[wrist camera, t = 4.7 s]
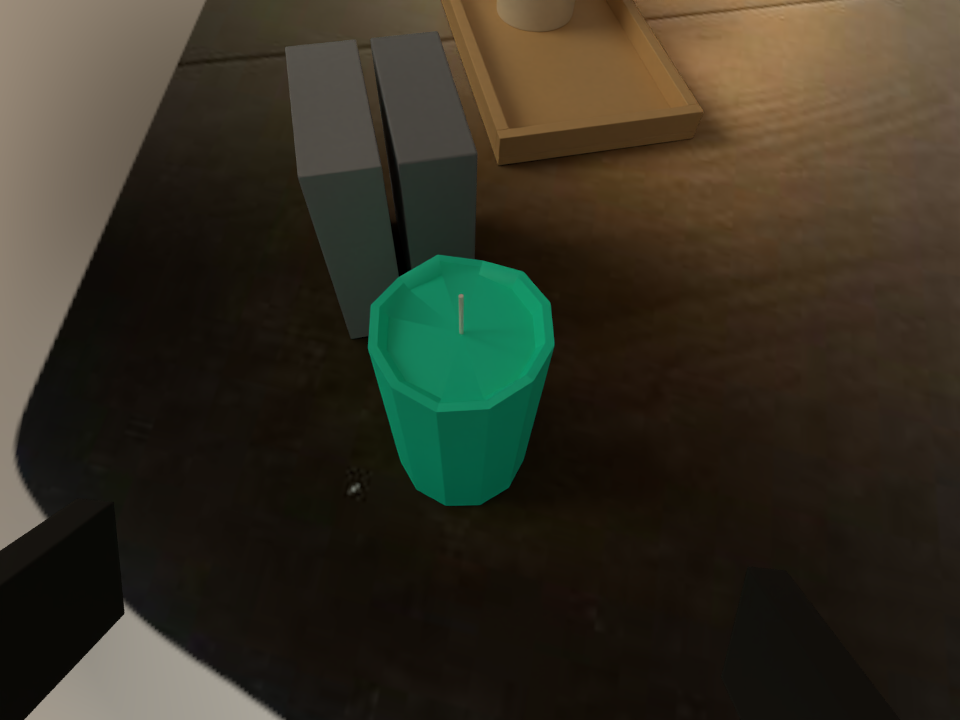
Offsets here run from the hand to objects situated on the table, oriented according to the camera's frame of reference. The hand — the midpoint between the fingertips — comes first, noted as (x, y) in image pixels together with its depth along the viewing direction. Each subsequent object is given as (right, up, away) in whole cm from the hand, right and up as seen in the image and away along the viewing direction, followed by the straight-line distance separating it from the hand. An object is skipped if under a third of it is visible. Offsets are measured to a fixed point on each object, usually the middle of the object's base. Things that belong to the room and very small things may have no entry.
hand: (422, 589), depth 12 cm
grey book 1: (-5, +10, +20) cm, 23 cm away
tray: (+6, +30, +32) cm, 45 cm away
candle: (0, +1, +15) cm, 15 cm away
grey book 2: (-2, +10, +21) cm, 23 cm away
